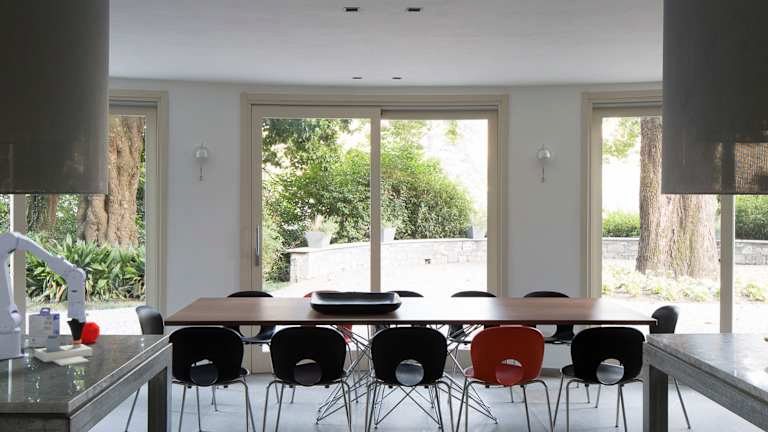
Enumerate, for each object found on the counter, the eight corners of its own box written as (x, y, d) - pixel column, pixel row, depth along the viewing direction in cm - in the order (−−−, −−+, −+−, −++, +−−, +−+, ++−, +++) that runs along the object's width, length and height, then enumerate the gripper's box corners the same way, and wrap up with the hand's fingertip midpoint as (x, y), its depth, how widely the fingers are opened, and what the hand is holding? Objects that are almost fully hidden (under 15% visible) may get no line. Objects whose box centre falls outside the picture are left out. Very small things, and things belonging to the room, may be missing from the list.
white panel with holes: (44, 361, 246) (44, 354, 246) (34, 356, 255) (34, 349, 255) (92, 355, 256) (92, 348, 256) (81, 350, 266) (81, 343, 266)
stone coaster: (60, 365, 240) (60, 364, 240) (52, 361, 247) (52, 359, 247) (88, 362, 246) (88, 360, 246) (80, 357, 253) (80, 356, 253)
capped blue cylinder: (48, 359, 251) (48, 336, 250) (44, 357, 254) (44, 335, 254) (61, 357, 253) (61, 335, 253) (57, 355, 257) (57, 333, 257)
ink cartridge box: (60, 344, 277) (60, 307, 277) (53, 347, 271) (53, 309, 271) (35, 344, 277) (34, 307, 277) (27, 347, 272) (27, 309, 271)
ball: (79, 340, 285) (79, 321, 285) (100, 340, 286) (100, 321, 286) (74, 344, 277) (74, 324, 277) (96, 343, 278) (96, 324, 278)
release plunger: (73, 353, 257) (73, 341, 256) (70, 352, 259) (70, 339, 259) (82, 352, 259) (82, 340, 259) (80, 351, 261) (79, 338, 261)
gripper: (94, 303, 256) (95, 341, 256) (81, 299, 267) (81, 336, 267) (73, 305, 251) (74, 344, 251) (61, 301, 262) (61, 338, 262)
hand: (76, 340), depth 259 cm, fingers closed, pressing on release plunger
